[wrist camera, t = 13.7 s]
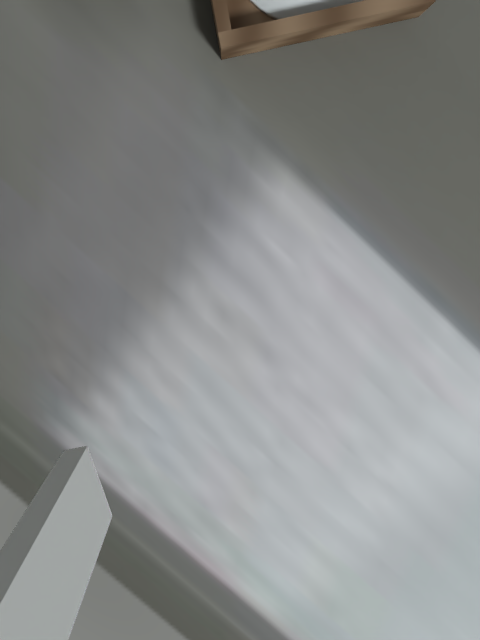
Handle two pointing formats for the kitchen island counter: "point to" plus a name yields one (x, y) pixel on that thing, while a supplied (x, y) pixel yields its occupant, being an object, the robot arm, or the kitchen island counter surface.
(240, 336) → the kitchen island counter surface
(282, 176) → the kitchen island counter surface
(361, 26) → the tray
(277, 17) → the saucer
